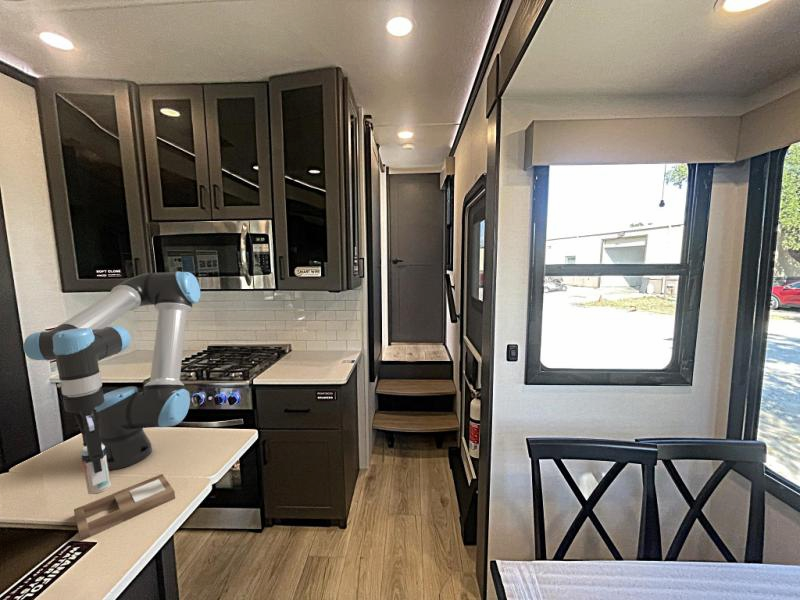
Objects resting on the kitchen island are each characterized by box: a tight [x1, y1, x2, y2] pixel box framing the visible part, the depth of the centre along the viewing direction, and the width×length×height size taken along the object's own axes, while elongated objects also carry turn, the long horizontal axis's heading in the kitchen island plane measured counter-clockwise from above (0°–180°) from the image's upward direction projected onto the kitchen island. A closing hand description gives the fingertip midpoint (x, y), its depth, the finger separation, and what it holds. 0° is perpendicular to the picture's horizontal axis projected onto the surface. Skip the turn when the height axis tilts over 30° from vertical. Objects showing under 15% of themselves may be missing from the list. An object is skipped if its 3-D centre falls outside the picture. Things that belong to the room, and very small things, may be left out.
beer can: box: [80, 443, 112, 495], centre depth 94 cm, size 5×5×12 cm
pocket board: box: [73, 473, 176, 542], centre depth 99 cm, size 12×20×2 cm, turn 136°
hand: (98, 477), depth 94 cm, fingers closed on beer can, 5 cm apart
